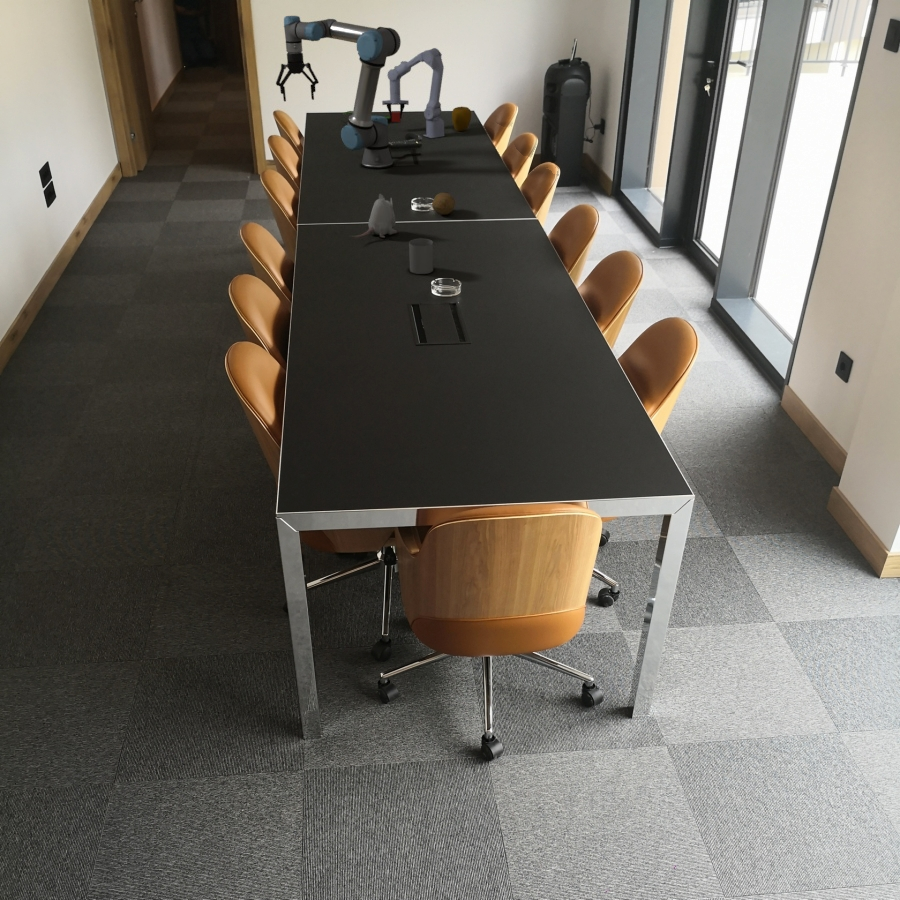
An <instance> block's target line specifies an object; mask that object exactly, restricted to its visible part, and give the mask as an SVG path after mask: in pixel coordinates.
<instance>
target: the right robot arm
mask: <svg viewBox="0 0 900 900" xmlns="http://www.w3.org/2000/svg"><path fill="white" fill-rule="evenodd" d="M442 55H443V54H442V52H441V51H440V50H439V49H438V48H437V47H433V48H431V49H427V50H424V51H422V52H420V53H418V54H417V55H415V56H414V57H413V58H411V59H410V60H409V61H406V60H404V61H403V60H402V61H400V64H398V65H395V66H394V68H393V69H392V68H391V69H389V70H388V71H387V75H386V76H387V79H388V81H389V99H387V100H381V103H382V106H386V108H387V110H388V114H389V116H390V117H391V119H392V106H394V105H395V106H396V105H397V106H399V111H400V120H401V119H402V116H403V112H404V109H405V106H409V105H410V103H409V101H410V100H409V99H408V100H407V99H406V100H405V99H401V79H402V77H404V76H405V75H407V74H408V73H410V72H411V71H412V68H413V67H415V66H416V65H418V64H420V63H425V64H426V65H427V66H429V67H430V68H431V70H432V75H431V84H430V91H429V98H428V102H427V104H426V105H425V106H426V107H425V109H424V110H423V116H424V118H425V123H426V124H425V126H426V127H425V130H426V134H425V133H424V134H423V135H422V136H423V137H426V138H428V139H436V138H440V137H445V136H446V135H445V121H444V120H443V118H440V116H441V115H442V108H441V107H442V104H441V102H440V99H441V98H440V97H441V90H442V83H443V76H444V70H445V68H444V67H445V66H444V63H443V59H442Z"/></svg>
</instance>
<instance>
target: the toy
mask: <svg viewBox="0 0 900 900" xmlns="http://www.w3.org/2000/svg"><path fill="white" fill-rule="evenodd" d="M396 222H397V219H396V215H395V211H394V202H393V199H392V197H390V200H387V199H385V196H384V195H383V194H382V193H379V194H378V199H376V200H375V201H374V203H373V206H372V208H371V212H370V217H369V219H368V223H367V224H368V225H367V226H368V229H367V231H365V232H363V233H362V234H358V235H350V238H351V237H352V238H363V237H365V236H367V235H369V234H370V235H375V234H377V235H379V238H382V239H385V238H386V236H385V235H387V234H388V235H394V234H397V233H398V231H397V230H396V229H394V228H395V227H396V225H397V224H396Z"/></svg>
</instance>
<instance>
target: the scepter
mask: <svg viewBox="0 0 900 900" xmlns="http://www.w3.org/2000/svg"><path fill="white" fill-rule="evenodd" d="M346 114H350V115H349V116H351V115H352V114H353V110H348V111H345V112H343V113H342V115H346ZM384 117H385V118H387V121H388V124H390V123H393V122H392V119H391V117H390V115H385V116H384ZM341 122H342V123H344V124H345V125H347V124H348V121H345V120H341Z"/></svg>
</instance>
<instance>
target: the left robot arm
mask: <svg viewBox="0 0 900 900" xmlns="http://www.w3.org/2000/svg"><path fill="white" fill-rule="evenodd" d="M283 28H284V29H283V30H284V38H285V49H286V50H285V51H286V59H287V60H286V61H287V64H286V63H285V64H284V63H281V64H280V70H279V74H278V77H277V79H276V81H275V85H276V86H277V87H279V89H280V95H282V97H283V98H282V99H283V102H287V96H286V87H285V86H284V85H285V84H286V82H287V81H288V79H289V78H290V76H291V75H292V74H293V75H296V74H298V75H300V74H302V75H303V76H304V77H305V78H306V79H307V80H308V81H309V82H310V83H311V84H310V95H311V97H310V98H311V100H312V101H314V100H315V95H314V93H316V85H317V84H319V83H320V81H319V80H318V78H317V76H316V74H315V72H314V71H313V69H312V66H311V63H310V62H307V63H305V62H304V53H303V41H310V42H319V41H320V40H321V39H326V38H327V39H334V40H340V41H344V42H350V43H354V44H356V52H357V54H358V56H359V59H358V60H359V62H360V64H361V66H360V73H359V78H358V83H357V87H356V94H355V100H354V105H353V109H352V111H353V113H351V114H350V115H351V116H350V115H349V116H348V119H347V122H348V124H345V125H344V126H343V127H342V128H341V130H340V137H341V138H340V139H341V141H342V142H343V145H344V146H345V147H346V148H347V149H348V150H351V151H360V150H362V149H364V151H363V155H362V159H361V166H362V167H363V168H366V169H371V170H381V169H387V168H390V167H392V166H394V161H393V160H401V159H403V158H405V157H408V156H421V155H422V154H421V152H418V153H417V152H415V153H414V152H413V153H405V154H403V155H402V156H392V155H391V152H390V151H391V150H390V147H389V145H390V144H389V123H388V121H387V118H385V116H384V115H383V116H381V115H375V114H374V115H373V110H374V105H375V101H376V100H375V99H376V94H377V88H378V84H379V79H380V74H381V70H382V68H384V67H385V66H386V62H387V58H388V57H392V56H394V55H395V54H397V53H398V51H399V50H400V47H401V44H402V43H401V42H402V41H401V37H400V35H399V32H398V31H396V30H395V29H394V28H392V27H385V26H378V27H376V28H375V27H371V26H365V25H359V24H353V23H349V22H343V21H337V20H336V19H334V18H327V19H322V20H315V21H301V17H300V16H298V15H286V16H284V18H283ZM305 67H306V68H307V69H308V71H309V73H310V75H311V77H312V78H313V79H312V78H311V77H310V76H309V75H308V73H307V72H306V71H304V69H305ZM286 69H288V71H287V72H286V73H285V70H286ZM284 73H285V75H284ZM283 75H284V77H283ZM282 78H283V79H282Z"/></svg>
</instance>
